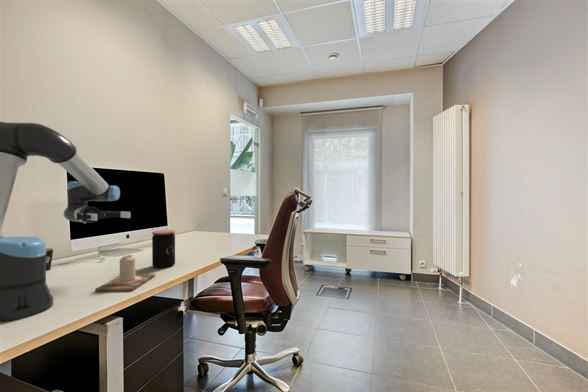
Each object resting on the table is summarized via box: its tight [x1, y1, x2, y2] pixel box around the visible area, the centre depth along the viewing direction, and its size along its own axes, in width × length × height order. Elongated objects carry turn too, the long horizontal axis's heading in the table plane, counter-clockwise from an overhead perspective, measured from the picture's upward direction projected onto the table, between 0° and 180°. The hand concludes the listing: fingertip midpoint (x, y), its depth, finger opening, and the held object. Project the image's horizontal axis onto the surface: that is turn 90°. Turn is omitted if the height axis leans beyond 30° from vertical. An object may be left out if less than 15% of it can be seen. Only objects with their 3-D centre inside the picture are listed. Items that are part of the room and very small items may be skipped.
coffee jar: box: [151, 229, 176, 269], centre depth 138 cm, size 11×11×18 cm
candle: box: [119, 254, 136, 282], centre depth 111 cm, size 6×6×10 cm
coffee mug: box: [45, 247, 54, 272], centre depth 129 cm, size 12×9×10 cm
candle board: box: [94, 273, 156, 293], centre depth 111 cm, size 18×14×2 cm
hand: (113, 216), depth 115 cm, fingers open, 13 cm apart
